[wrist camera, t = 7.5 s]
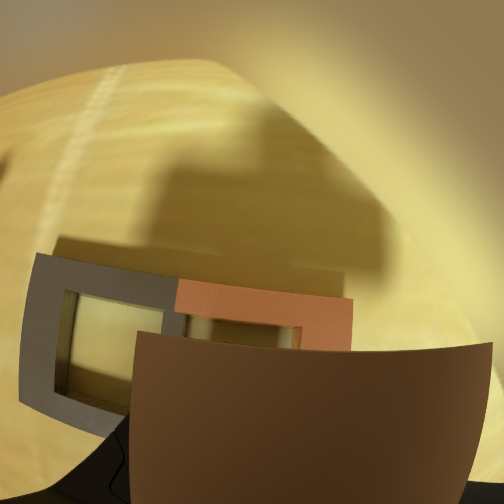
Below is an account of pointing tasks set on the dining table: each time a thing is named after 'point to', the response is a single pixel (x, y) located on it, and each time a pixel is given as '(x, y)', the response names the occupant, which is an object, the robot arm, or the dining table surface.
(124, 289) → the grey-tan flat frame piece
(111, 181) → the dining table surface
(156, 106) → the dining table surface
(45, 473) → the dining table surface
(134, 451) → the walnut post
